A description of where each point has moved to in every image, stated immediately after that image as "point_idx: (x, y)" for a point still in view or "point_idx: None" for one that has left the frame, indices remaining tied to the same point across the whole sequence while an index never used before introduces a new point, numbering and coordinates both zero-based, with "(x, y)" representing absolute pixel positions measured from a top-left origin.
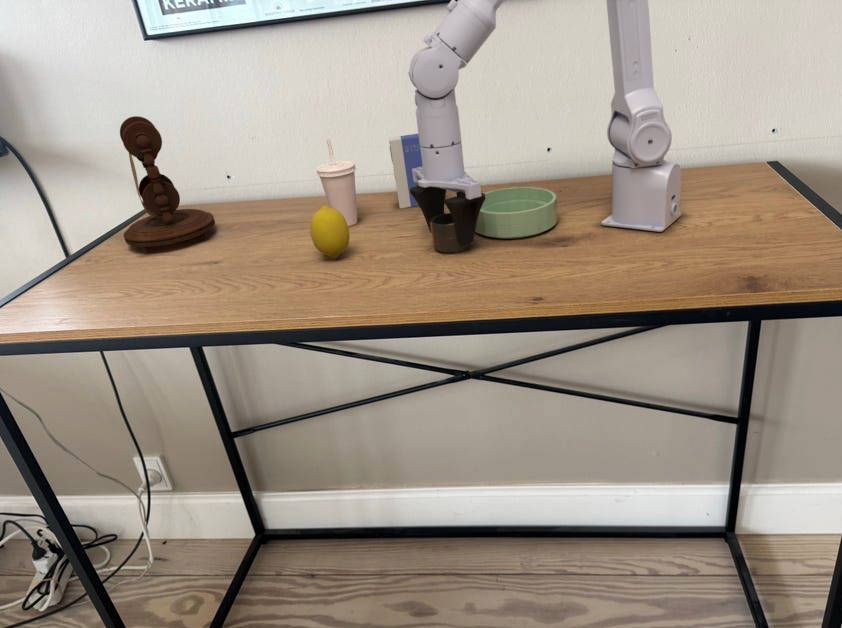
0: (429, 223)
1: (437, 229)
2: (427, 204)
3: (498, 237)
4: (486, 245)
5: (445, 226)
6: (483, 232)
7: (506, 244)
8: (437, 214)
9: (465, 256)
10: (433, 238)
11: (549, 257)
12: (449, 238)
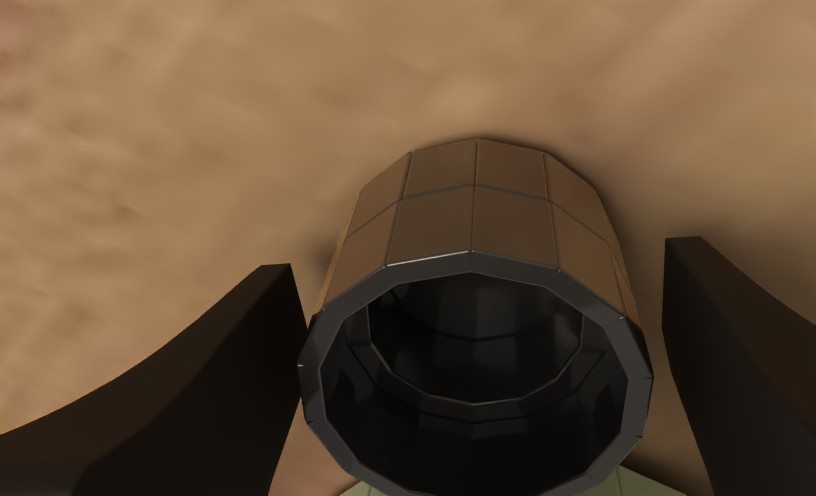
0: (693, 278)
1: (396, 236)
2: (748, 412)
3: None
4: None
5: (325, 297)
6: None
7: (298, 457)
8: (704, 395)
9: (267, 235)
10: (487, 177)
11: None
12: (338, 251)
